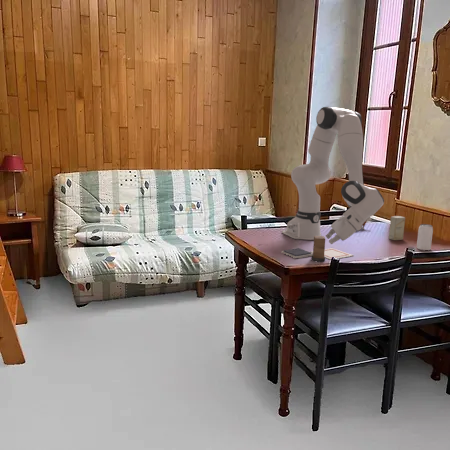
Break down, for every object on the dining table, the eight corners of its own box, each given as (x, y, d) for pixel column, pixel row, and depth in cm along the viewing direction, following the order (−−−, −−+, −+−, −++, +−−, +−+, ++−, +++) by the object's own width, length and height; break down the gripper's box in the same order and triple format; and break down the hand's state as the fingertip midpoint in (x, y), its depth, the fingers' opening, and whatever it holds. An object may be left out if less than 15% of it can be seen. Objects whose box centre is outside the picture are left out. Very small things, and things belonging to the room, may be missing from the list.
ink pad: (281, 253, 220) (281, 250, 220) (298, 250, 225) (298, 247, 225) (295, 259, 211) (295, 255, 211) (313, 256, 217) (313, 252, 216)
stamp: (310, 257, 214) (312, 235, 212) (324, 258, 213) (325, 235, 211) (312, 261, 208) (313, 238, 206) (325, 262, 208) (327, 239, 205)
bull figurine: (371, 229, 273) (373, 215, 272) (354, 231, 268) (355, 217, 266) (366, 227, 277) (367, 214, 275) (348, 229, 271) (349, 215, 270)
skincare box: (394, 240, 248) (396, 218, 246) (388, 238, 252) (390, 216, 250) (403, 239, 251) (405, 217, 248) (397, 237, 255) (399, 215, 252)
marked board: (310, 252, 222) (310, 251, 222) (332, 248, 230) (332, 247, 229) (331, 260, 211) (331, 259, 211) (353, 256, 218) (353, 255, 218)
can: (416, 249, 231) (419, 226, 228) (416, 246, 237) (419, 223, 234) (430, 251, 229) (433, 227, 226) (430, 248, 235) (433, 224, 232)
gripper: (343, 209, 215) (320, 229, 218) (352, 218, 196) (326, 240, 198) (352, 219, 216) (329, 239, 219) (362, 229, 196) (336, 251, 199)
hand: (328, 240), depth 208 cm, fingers open, 8 cm apart
